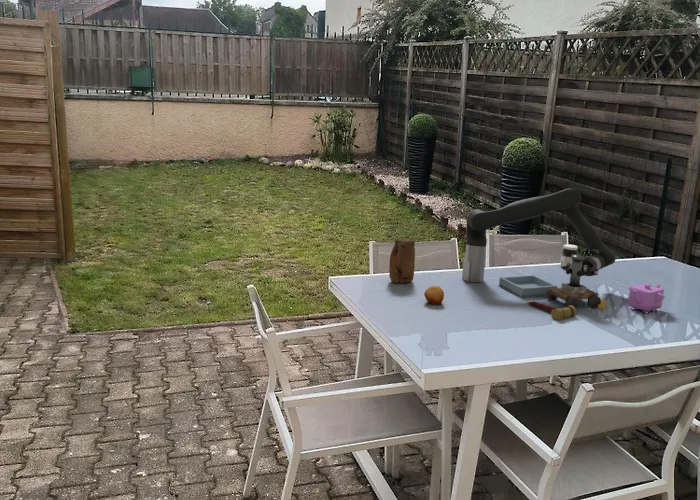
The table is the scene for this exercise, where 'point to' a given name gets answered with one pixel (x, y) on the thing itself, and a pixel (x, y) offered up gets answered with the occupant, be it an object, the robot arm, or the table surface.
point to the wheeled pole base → (574, 295)
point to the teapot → (645, 297)
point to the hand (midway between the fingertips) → (573, 272)
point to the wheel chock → (602, 304)
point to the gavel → (555, 310)
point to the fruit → (434, 295)
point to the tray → (526, 285)
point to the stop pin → (575, 270)
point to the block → (402, 261)
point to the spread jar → (568, 254)
